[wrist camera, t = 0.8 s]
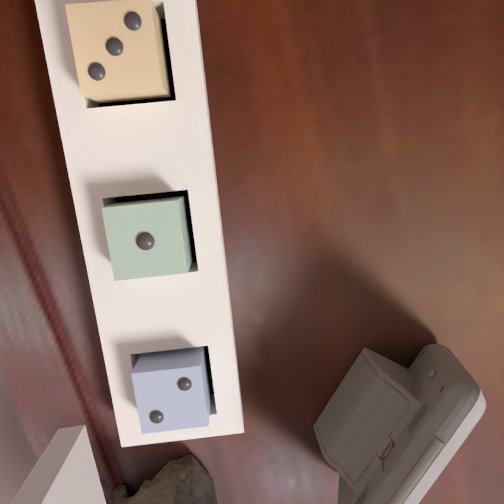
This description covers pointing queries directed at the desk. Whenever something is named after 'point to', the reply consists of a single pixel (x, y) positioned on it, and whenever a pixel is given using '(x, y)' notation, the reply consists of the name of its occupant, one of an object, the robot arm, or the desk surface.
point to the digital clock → (397, 425)
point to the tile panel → (146, 182)
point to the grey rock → (172, 486)
